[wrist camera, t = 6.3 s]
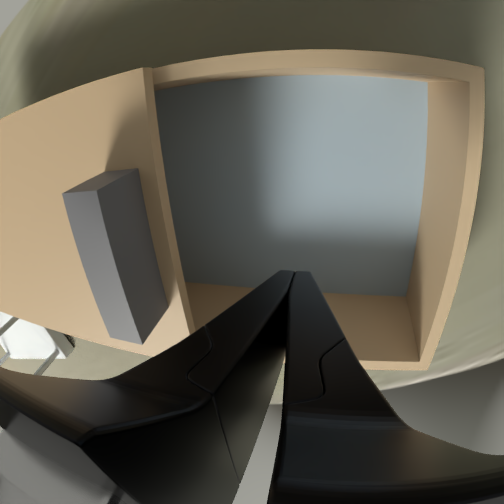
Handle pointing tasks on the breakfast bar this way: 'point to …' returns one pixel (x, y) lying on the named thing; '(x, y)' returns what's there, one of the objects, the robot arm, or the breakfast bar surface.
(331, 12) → the breakfast bar surface
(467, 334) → the breakfast bar surface
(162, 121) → the box
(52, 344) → the file sorter
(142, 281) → the lid
